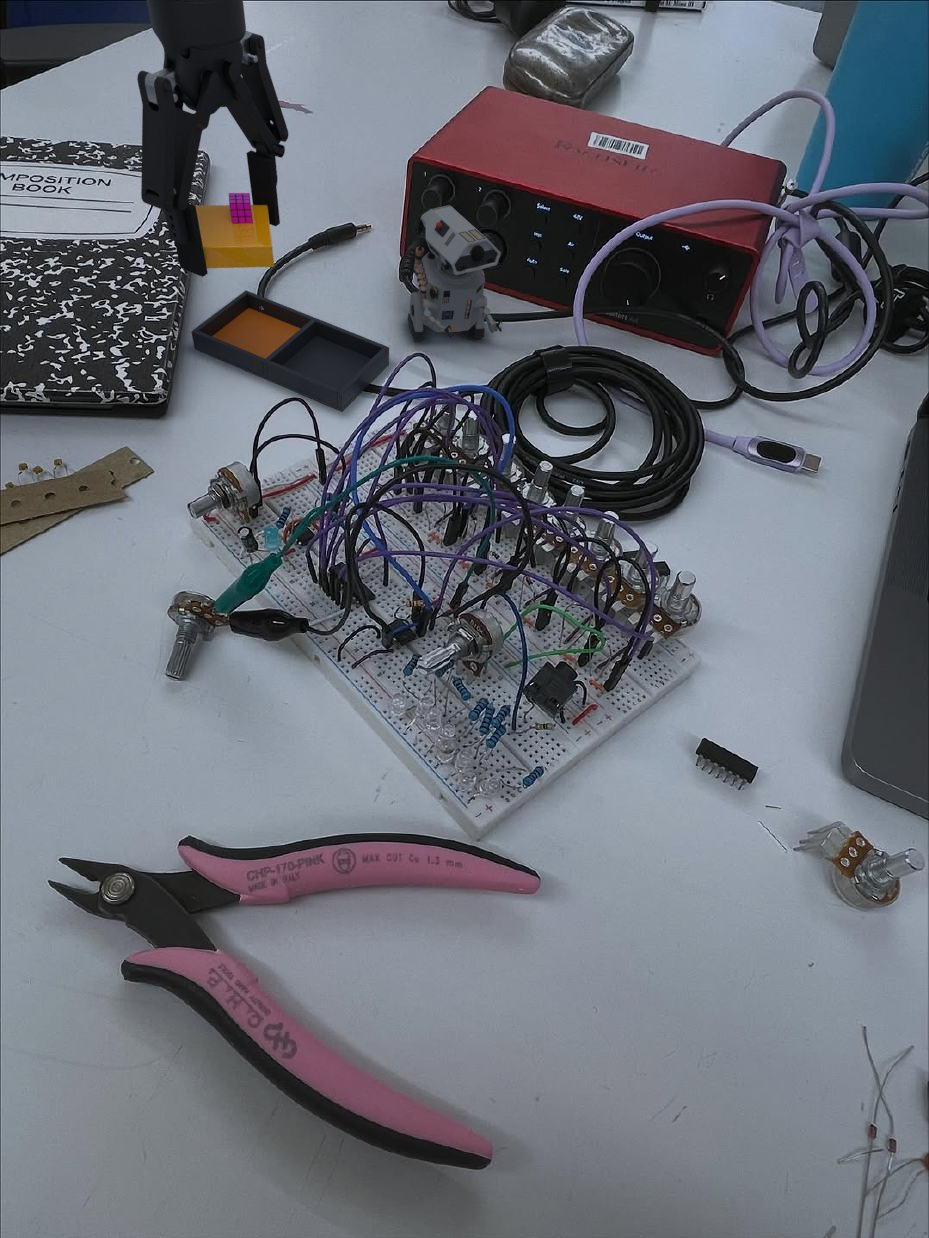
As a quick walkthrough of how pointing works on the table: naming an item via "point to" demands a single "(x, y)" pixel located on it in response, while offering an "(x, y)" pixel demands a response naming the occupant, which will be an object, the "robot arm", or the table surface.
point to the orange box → (236, 233)
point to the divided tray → (292, 349)
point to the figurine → (452, 276)
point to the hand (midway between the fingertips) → (232, 245)
